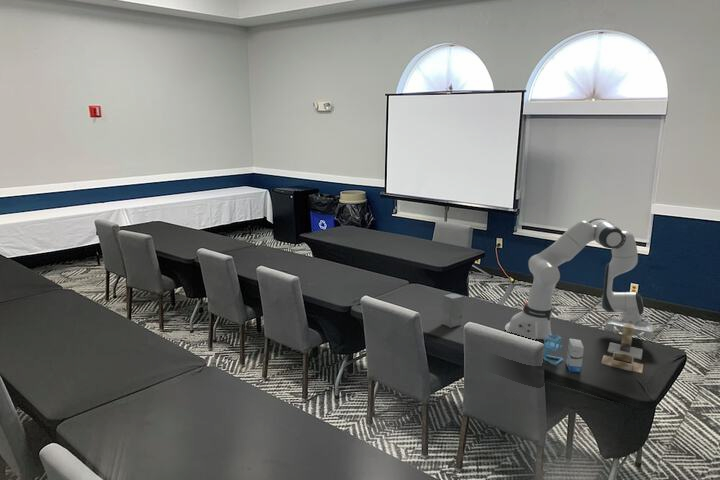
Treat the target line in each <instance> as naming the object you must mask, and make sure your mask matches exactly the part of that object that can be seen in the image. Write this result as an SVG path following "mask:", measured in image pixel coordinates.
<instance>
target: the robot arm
mask: <svg viewBox="0 0 720 480" xmlns="http://www.w3.org/2000/svg"><path fill="white" fill-rule="evenodd" d="M594 241H595V242H596V243H597V244H599V245H601V246H602V247H604V248H606V249H610V250H611V259H610V262H608V263H606V265H605V268H604V269H605V270H604V277H603V278H604V279H603V289H602V291H603V292H602V295H601V300H600V301H601V305H600V306H601V308H602V309H603V310H604V311H606V312H607V313H616V312H617V313H618V312H621V313H622V314H621V318H620V319H615V318H608V319H607V320H606V322H605V326H604V328H605V330H606V331H611V332H614V334H617V335H618V334H619V333H621V334H623V328H624V324H625V323H628V324H633V325H634V330H633V336H636V338H637V339H640V340H641V339H642V338H645V339H649V340H651V339H653V336H654V327H653V326H652V322H651V321H648V320H646V319H643V318H642V314H643V313H644V309H645V305H644V299H643V296H642V295H640V293H639V292H637V291H622V292H621V291H618V292H617V291H613V283H614V278H616V277H618V276H619V275H623V274H625V273H627V272H629V271H632V270H633V269H634V268H635V267H636V266H637V265H638V263H639V255H638V254H639V253H638V248H637V243H636V240H635V236H634V234H633V233H632V232H630V231H627V230H621V229H620V228H619V227H618V226H616V225H615V224H614V223H612V222H611V221H609V220H606V219H604V218H594V219H592V220H589V221H587V220H579V221H578V222H576V223H575V224H573V225H572V226H571V227H569V228H568V229H567V230H565V232H564V233H563V234H562V235H560V236H559V238H557V239H556V240H555V241H554V242H553V243H552V244H551V245H549V246H548V247H547V248H544V250H541V252H539V253H537V254H534V255H532V256H531V257H530V258H529V259H528V262H527V263H528V265H527V266H528V269H529V272H530V273H531V274H532V275H533V282H532V285H531V287H530V289H529V291H528V301H527V302H524V304H523V306H522V311H520V312H517V313H516V314H514V315H513V316H512V317H511V319H510V321H509V322H507V323H506V324H505V326H504V331H505V330H506V331H505V332H506V333H509V332H510V333H509V334H512V333H517V335H516V336H518V334H519V335H520V336H519V337H522V336H524V337H523V338H525V337H527V338H526V339H528V338H531V339H534V340H533V341H536V339H537V340H544V339H543V338H549V335H553V334H552V329H551V320H552V314H553V308H552V304H553V298H554V297H553V296H554V292H555V289H556V286H557V283H558V282H559V281H560V279H561V273H560V270H559V268H558V267H559V266H561V265H562V264H565V263H566V262H570V261H571V260H572V259H574V258H575V256H576V255H578V254H579V253H580V252H581V251H582V250H583V249H584V248H585V247H586V246H587V245H588V244H589V243H591V242H594ZM511 332H512V333H511ZM521 335H522V336H521ZM531 339H530V340H531Z"/></svg>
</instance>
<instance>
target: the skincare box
mask: <svg viewBox="0 0 720 480" xmlns="http://www.w3.org/2000/svg"><path fill="white" fill-rule="evenodd" d="M463 304H464V296H463V295H460V294H457V293H449V294H444V295H443V301H442V323H441V325H444V326H446V327H448V328H450V329H452V328H454V327H458V326H462V321H463V316H462V315H463V306H464V305H463Z"/></svg>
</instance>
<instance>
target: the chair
mask: <svg viewBox="0 0 720 480" xmlns="http://www.w3.org/2000/svg"><path fill="white" fill-rule="evenodd" d="M553 337H554V338H553ZM542 340H543V342H544V343H543V344H544V349H543V348H542V352H543V356H544V361H545V362H547V361H548V362H547V363H549V364H551V365H552V364H553V365H552V366H554V365H555V366H554V367H556V366H558V365H559V364H561V363H562V362H563V361H564V358H563V357H559V356H554V355H550V354H549V352H550V351H552V352H554V353H555V352H556V353H557V351H558V350H560V349H562V348H563V345H562V343H561V342H562V340H563V338H562V337H561V336H560V335H558V334H552V335H549V338H543V339H542ZM547 357H548V358H547ZM552 358H553V359H554V360H557V361H555V362H554V361H552V360H551V359H552Z"/></svg>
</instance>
